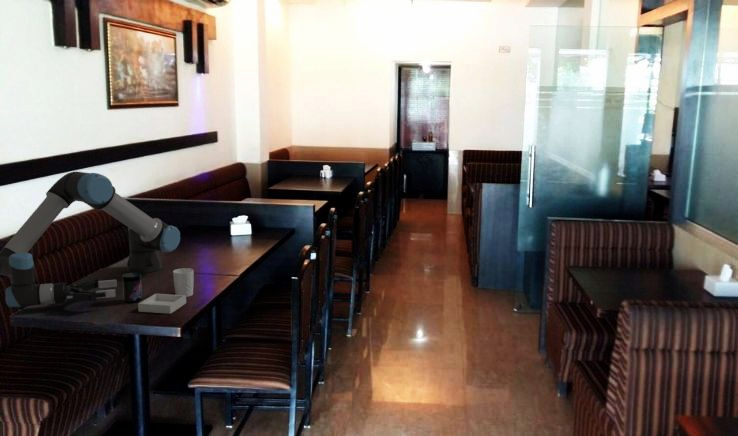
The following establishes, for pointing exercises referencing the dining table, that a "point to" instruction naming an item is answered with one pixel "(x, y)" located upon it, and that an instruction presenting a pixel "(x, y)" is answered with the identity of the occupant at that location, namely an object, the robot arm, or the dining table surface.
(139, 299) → the supplement container
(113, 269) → the dining table surface
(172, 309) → the tray
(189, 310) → the dining table surface
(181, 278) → the white cup
